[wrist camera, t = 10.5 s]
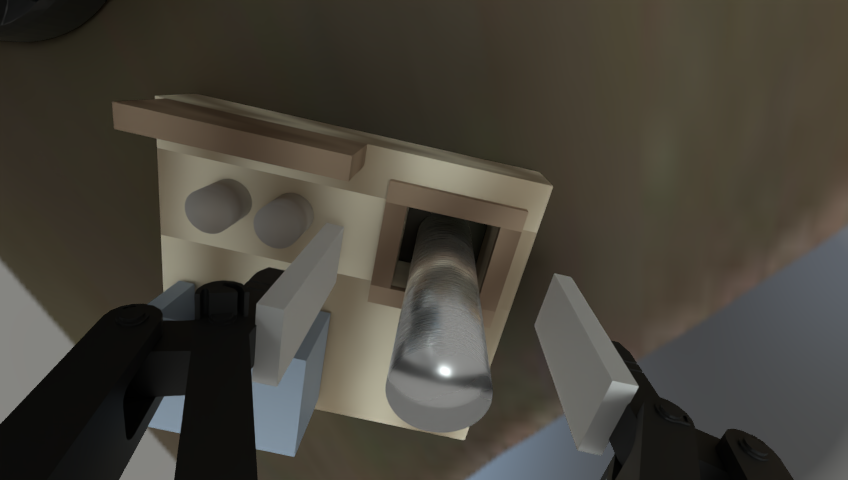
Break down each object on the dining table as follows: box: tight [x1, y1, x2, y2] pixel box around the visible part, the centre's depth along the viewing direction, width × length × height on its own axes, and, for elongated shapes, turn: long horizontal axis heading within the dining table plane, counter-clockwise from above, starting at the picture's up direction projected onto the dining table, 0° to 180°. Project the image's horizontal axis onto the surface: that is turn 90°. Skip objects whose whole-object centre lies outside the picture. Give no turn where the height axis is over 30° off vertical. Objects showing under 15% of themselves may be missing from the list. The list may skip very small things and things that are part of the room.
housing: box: [148, 281, 331, 457], centre depth 20 cm, size 8×6×4 cm
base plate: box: [112, 94, 553, 440], centre depth 21 cm, size 18×16×6 cm
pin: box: [385, 213, 493, 433], centre depth 17 cm, size 3×3×12 cm
